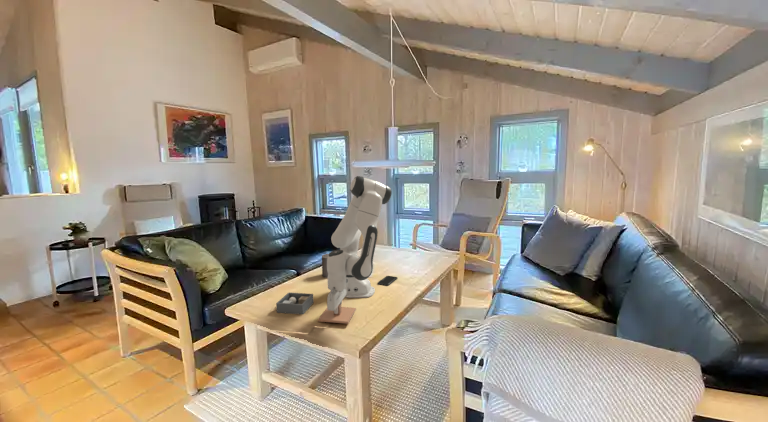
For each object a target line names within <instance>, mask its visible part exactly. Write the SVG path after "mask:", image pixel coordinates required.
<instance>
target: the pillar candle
mask: <svg viewBox="0 0 768 422" xmlns="http://www.w3.org/2000/svg"><path fill="white" fill-rule="evenodd" d="M328 255H329V253H324V254H322V255H321V276H322V277H323V278H326V279H327V278H328V271H327V258H328Z"/></svg>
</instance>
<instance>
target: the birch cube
mask: <svg viewBox="0 0 768 422" xmlns="http://www.w3.org/2000/svg"><path fill="white" fill-rule="evenodd" d="M307 298H308V297H306V296H301V297H300V298H299V304H302V303H303V302H304V301H305V300H306V299H307Z"/></svg>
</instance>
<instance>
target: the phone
mask: <svg viewBox="0 0 768 422" xmlns="http://www.w3.org/2000/svg"><path fill="white" fill-rule="evenodd" d="M397 280H398V277H397V276H393V275H386V276H384V277H383V278H382V279H380V280H379V281H378V282H377V283H376V284H377V285H379V286H385V287H388V286H390V285H392V284H393V283H394V282H395V281H397Z"/></svg>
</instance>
